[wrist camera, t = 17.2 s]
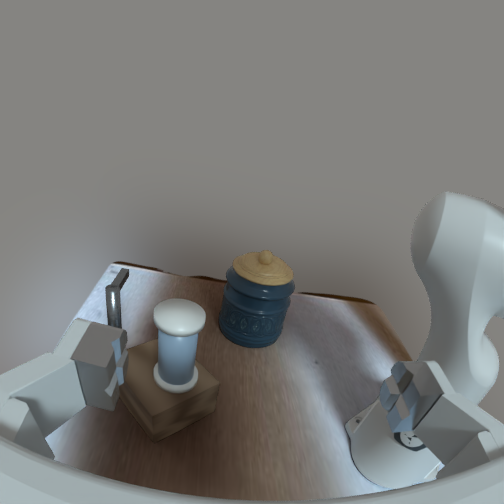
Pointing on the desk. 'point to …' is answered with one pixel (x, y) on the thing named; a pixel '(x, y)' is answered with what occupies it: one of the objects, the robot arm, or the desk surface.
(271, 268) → the canister
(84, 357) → the robot arm
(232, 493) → the desk surface
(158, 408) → the walnut shelf block
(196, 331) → the cord spool
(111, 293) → the hook post
